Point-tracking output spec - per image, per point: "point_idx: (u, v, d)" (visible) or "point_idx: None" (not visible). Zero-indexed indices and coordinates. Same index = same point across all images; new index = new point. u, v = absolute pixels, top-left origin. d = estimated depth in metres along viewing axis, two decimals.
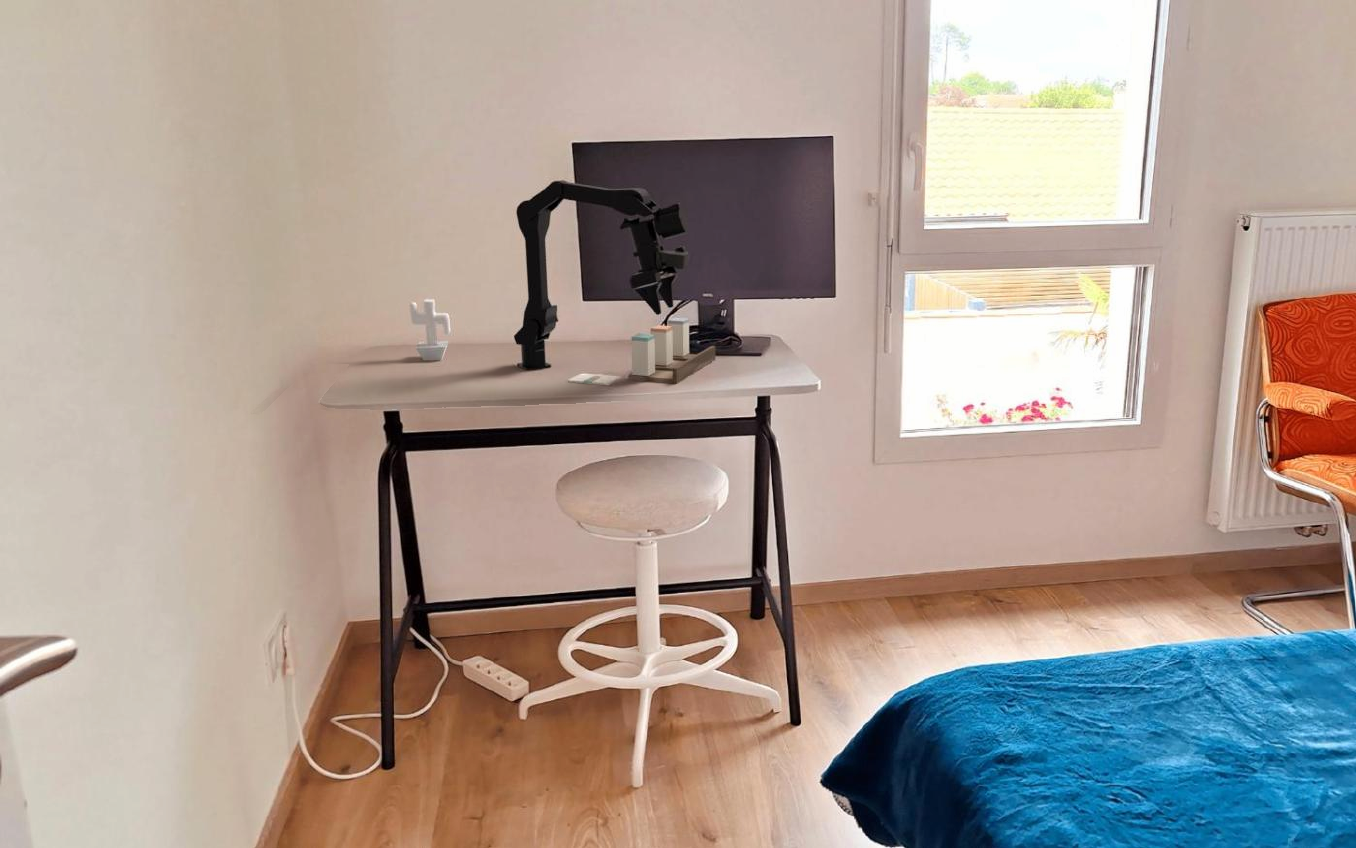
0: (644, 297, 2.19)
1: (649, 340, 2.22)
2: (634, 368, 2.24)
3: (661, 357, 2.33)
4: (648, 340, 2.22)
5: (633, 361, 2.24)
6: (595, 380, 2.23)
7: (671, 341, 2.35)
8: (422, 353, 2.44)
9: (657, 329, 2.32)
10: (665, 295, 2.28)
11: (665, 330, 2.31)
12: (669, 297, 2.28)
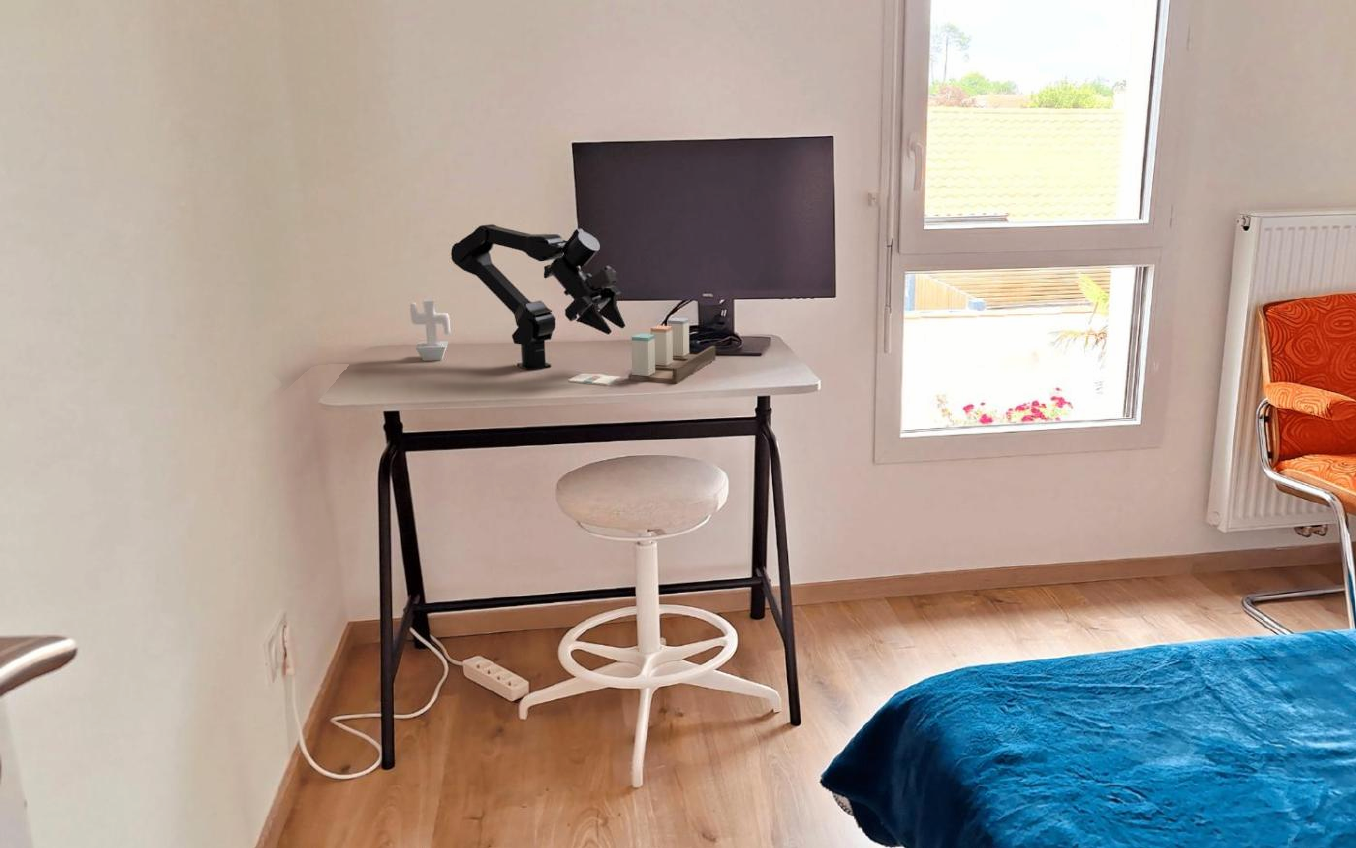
0: (589, 324, 2.22)
1: (649, 340, 2.22)
2: (634, 368, 2.24)
3: (661, 357, 2.33)
4: (648, 340, 2.22)
5: (633, 361, 2.24)
6: (595, 380, 2.23)
7: (671, 341, 2.35)
8: (422, 353, 2.44)
9: (657, 329, 2.32)
10: (614, 319, 2.29)
11: (665, 330, 2.31)
12: (618, 318, 2.29)
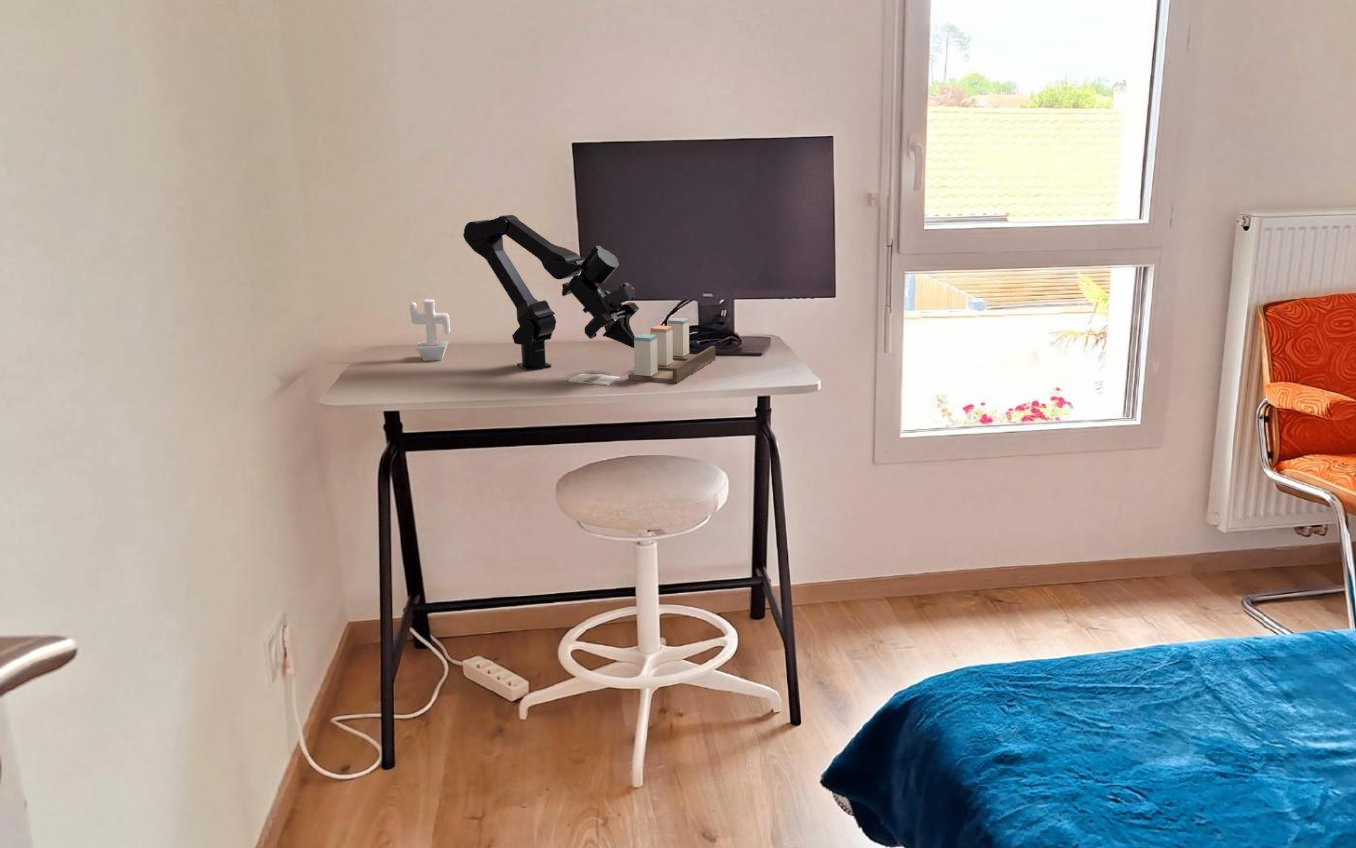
0: (615, 338, 2.24)
1: (652, 340, 2.22)
2: (636, 368, 2.24)
3: (661, 357, 2.33)
4: (651, 340, 2.21)
5: (635, 361, 2.24)
6: (595, 380, 2.23)
7: (671, 341, 2.35)
8: (422, 353, 2.44)
9: (657, 329, 2.32)
10: None
11: (665, 330, 2.31)
12: None
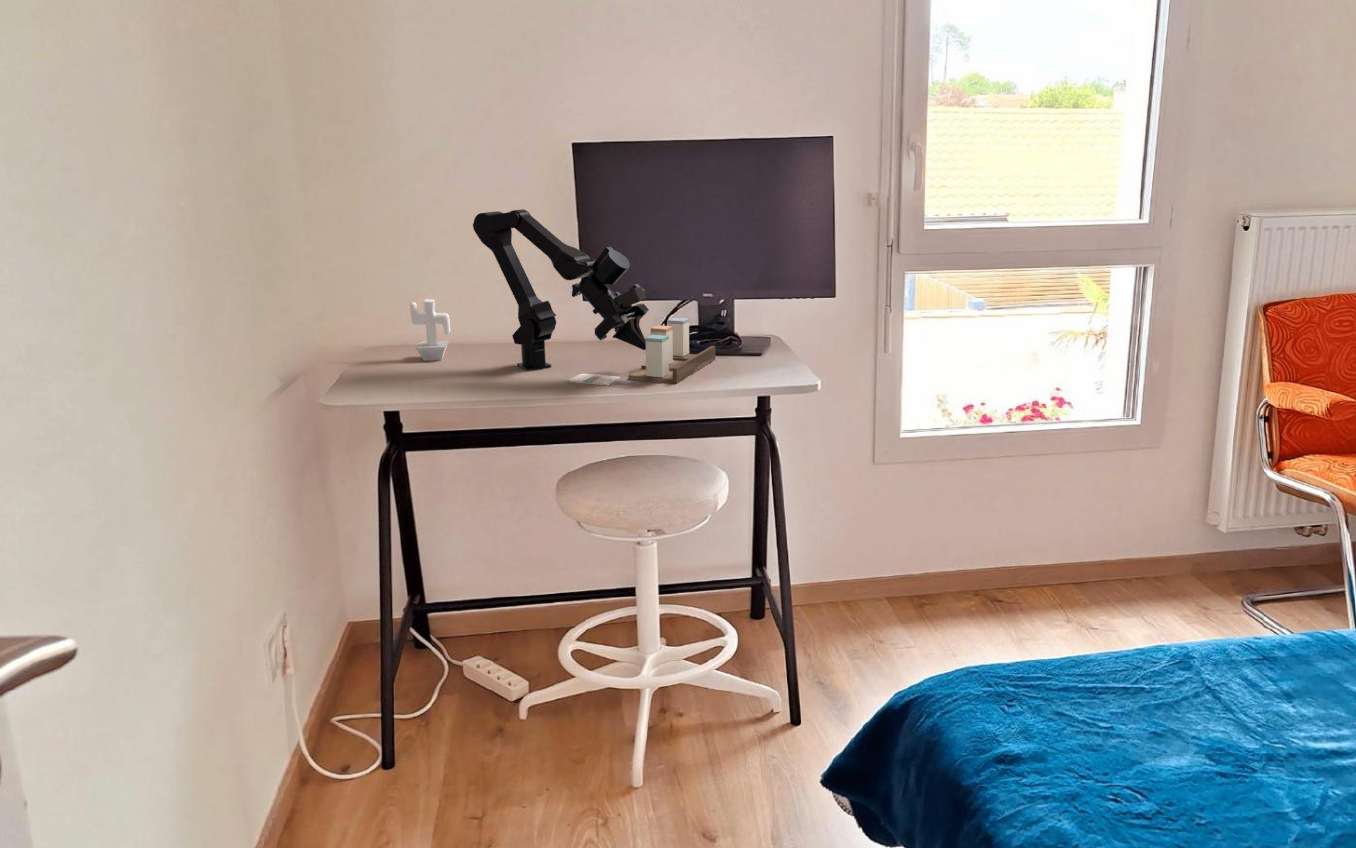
0: (625, 340, 2.23)
1: (663, 341, 2.21)
2: (648, 369, 2.23)
3: None
4: (663, 341, 2.20)
5: (647, 362, 2.22)
6: (595, 380, 2.23)
7: (671, 341, 2.35)
8: (422, 353, 2.44)
9: (657, 329, 2.32)
10: None
11: (665, 330, 2.31)
12: None
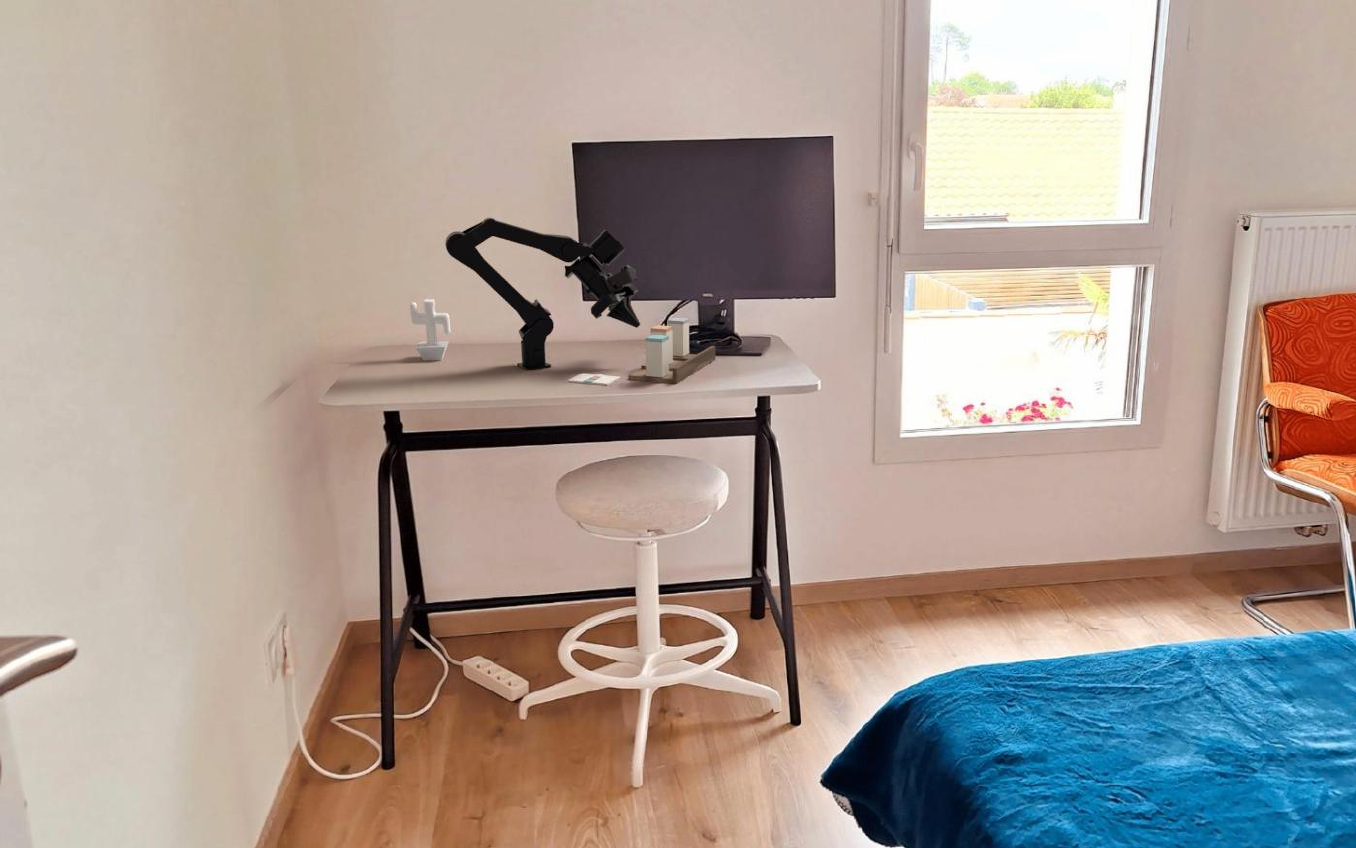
0: (618, 318, 2.34)
1: (663, 341, 2.21)
2: (648, 369, 2.23)
3: None
4: (663, 341, 2.20)
5: (647, 362, 2.22)
6: (595, 380, 2.23)
7: (671, 341, 2.35)
8: (422, 353, 2.44)
9: (657, 329, 2.32)
10: None
11: (665, 330, 2.31)
12: None
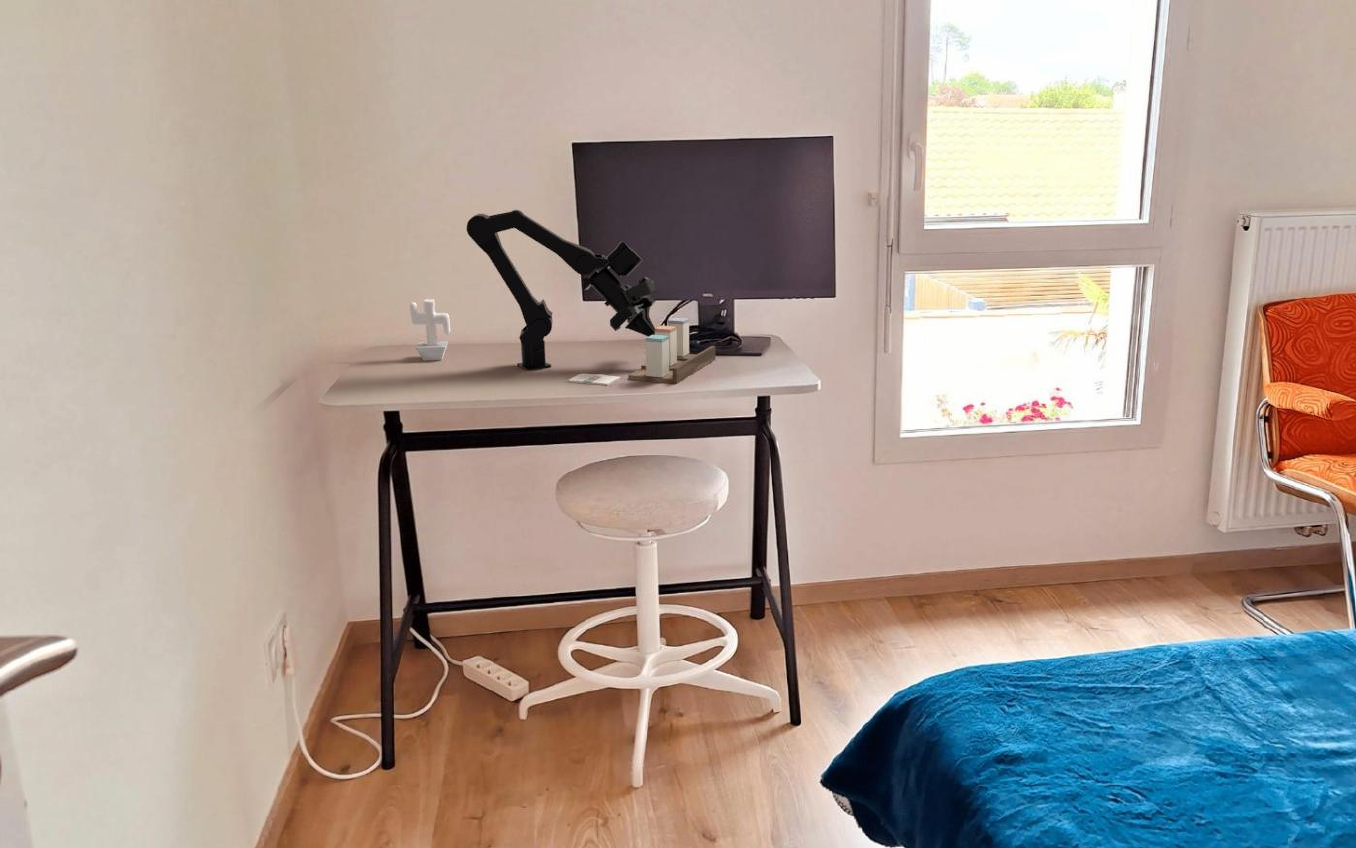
0: (637, 330, 2.34)
1: (663, 341, 2.21)
2: (648, 369, 2.23)
3: None
4: (663, 341, 2.20)
5: (647, 362, 2.22)
6: (595, 380, 2.23)
7: (675, 341, 2.34)
8: (422, 353, 2.44)
9: (661, 329, 2.31)
10: None
11: (669, 330, 2.30)
12: None
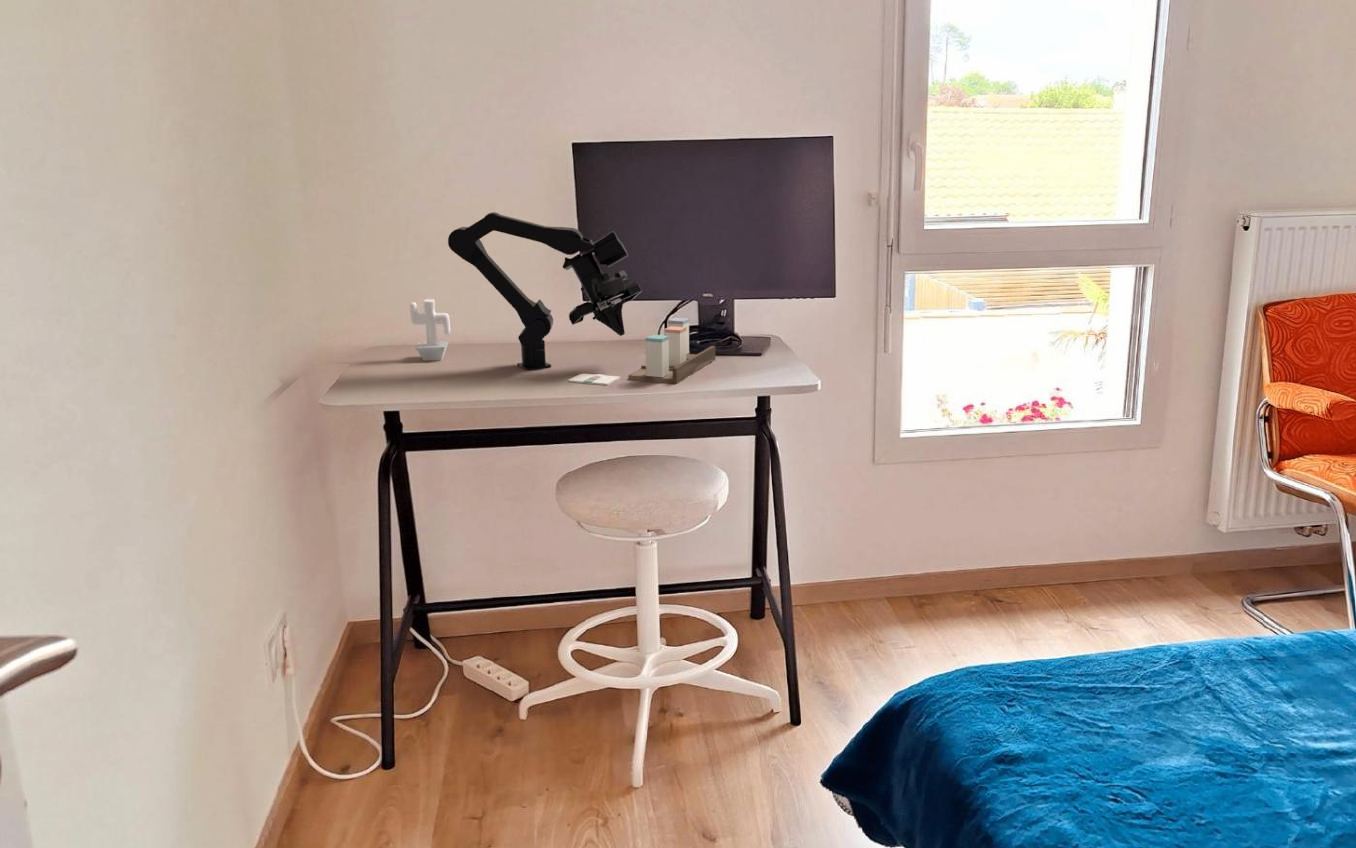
0: (604, 323, 2.32)
1: (663, 341, 2.21)
2: (648, 369, 2.23)
3: (675, 358, 2.32)
4: (663, 341, 2.20)
5: (647, 362, 2.22)
6: (595, 380, 2.23)
7: (685, 342, 2.33)
8: (422, 353, 2.44)
9: (671, 330, 2.30)
10: None
11: (679, 331, 2.30)
12: None
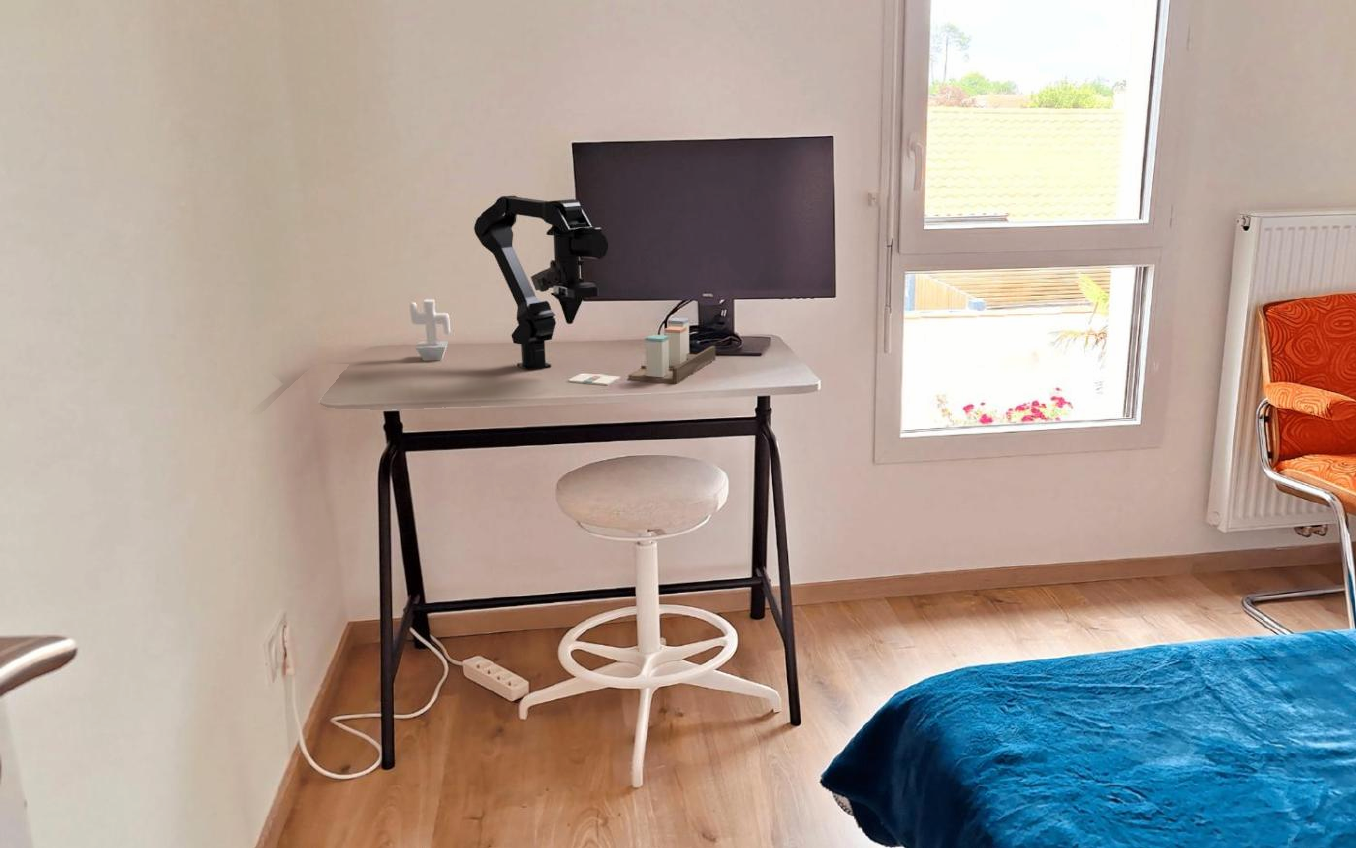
0: None
1: (663, 341, 2.21)
2: (648, 369, 2.23)
3: (675, 358, 2.32)
4: (663, 341, 2.20)
5: (647, 362, 2.22)
6: (595, 380, 2.23)
7: (685, 342, 2.33)
8: (422, 353, 2.44)
9: (671, 330, 2.30)
10: None
11: (679, 331, 2.30)
12: None
